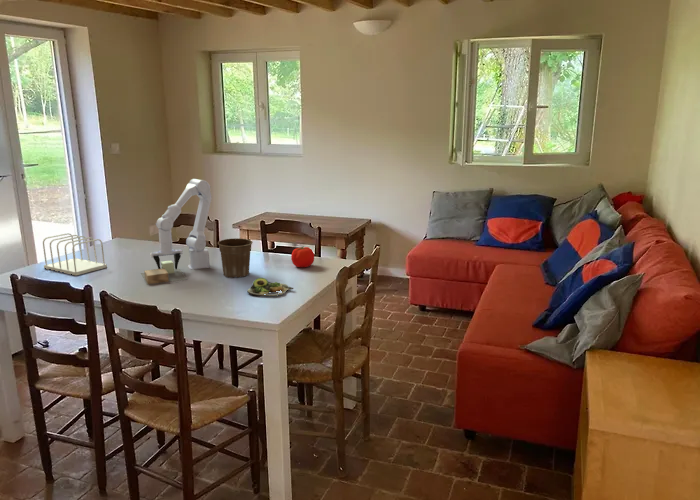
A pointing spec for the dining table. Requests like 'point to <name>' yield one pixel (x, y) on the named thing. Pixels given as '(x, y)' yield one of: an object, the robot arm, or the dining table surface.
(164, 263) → the sage cube
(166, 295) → the dining table surface
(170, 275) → the building mat
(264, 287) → the salad plate
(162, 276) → the walnut base block
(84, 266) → the file sorter
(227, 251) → the plant pot
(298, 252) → the tomato
